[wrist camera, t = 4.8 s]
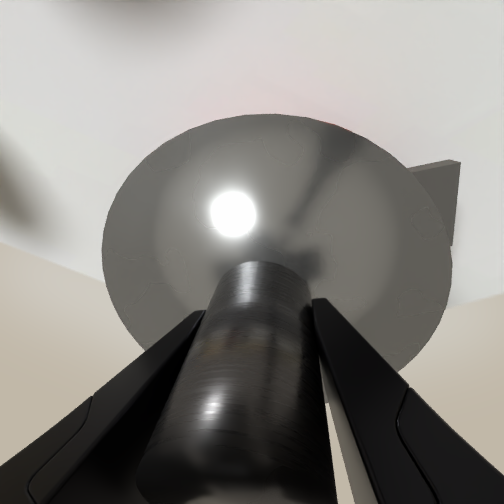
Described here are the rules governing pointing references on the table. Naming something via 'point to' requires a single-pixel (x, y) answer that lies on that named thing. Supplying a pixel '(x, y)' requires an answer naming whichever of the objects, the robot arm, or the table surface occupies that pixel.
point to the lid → (266, 294)
